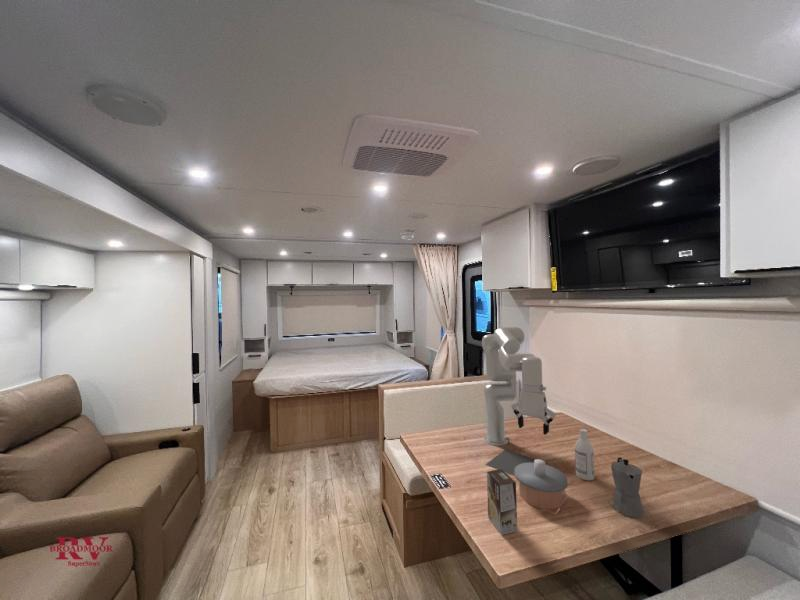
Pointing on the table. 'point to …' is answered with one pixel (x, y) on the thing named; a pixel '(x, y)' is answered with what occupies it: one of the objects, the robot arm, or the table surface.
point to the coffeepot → (627, 488)
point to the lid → (541, 476)
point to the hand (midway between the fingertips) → (533, 430)
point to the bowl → (541, 497)
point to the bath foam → (584, 457)
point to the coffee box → (502, 501)
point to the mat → (509, 461)
